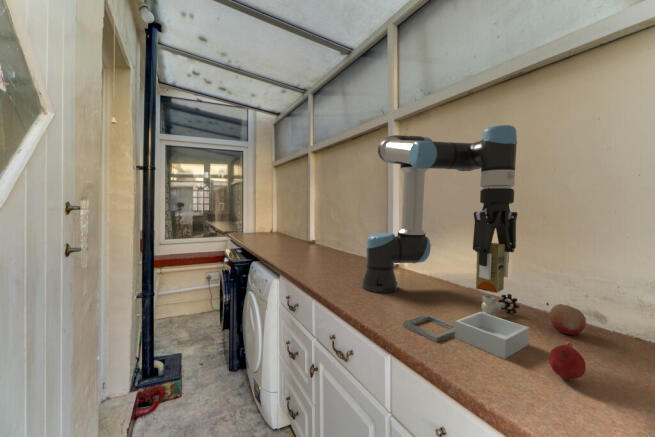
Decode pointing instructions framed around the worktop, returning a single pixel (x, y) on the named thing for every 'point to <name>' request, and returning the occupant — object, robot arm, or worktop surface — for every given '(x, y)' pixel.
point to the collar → (436, 338)
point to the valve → (498, 304)
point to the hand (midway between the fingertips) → (493, 276)
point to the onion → (567, 362)
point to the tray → (492, 334)
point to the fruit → (567, 319)
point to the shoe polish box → (493, 270)
